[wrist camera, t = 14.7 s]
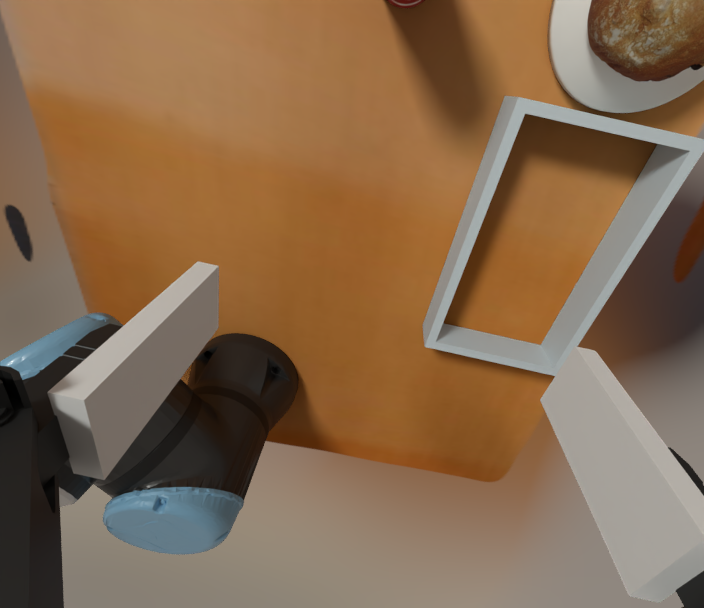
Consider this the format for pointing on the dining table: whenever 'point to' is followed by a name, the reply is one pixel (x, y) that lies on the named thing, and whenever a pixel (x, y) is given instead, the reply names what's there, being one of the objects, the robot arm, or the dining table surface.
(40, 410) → the robot arm
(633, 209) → the hollow rectangular frame
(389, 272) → the dining table surface
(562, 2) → the plate
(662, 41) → the bread roll
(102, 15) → the dining table surface
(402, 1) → the soda can
